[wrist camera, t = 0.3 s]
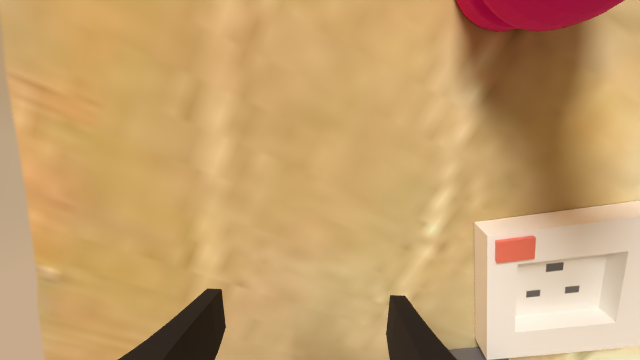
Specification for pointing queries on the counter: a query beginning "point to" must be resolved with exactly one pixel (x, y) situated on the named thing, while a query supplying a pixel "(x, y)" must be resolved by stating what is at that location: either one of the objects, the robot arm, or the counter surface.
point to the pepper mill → (532, 13)
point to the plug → (470, 354)
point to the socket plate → (558, 281)
